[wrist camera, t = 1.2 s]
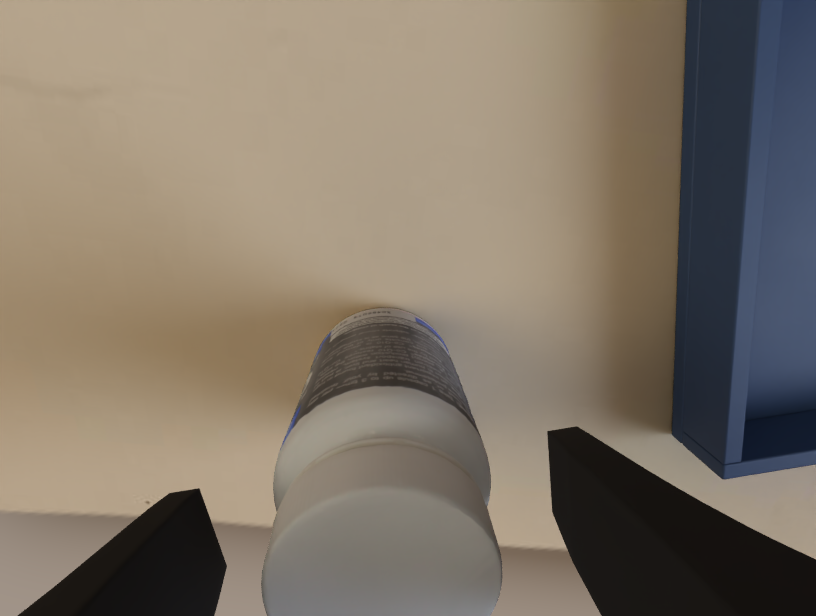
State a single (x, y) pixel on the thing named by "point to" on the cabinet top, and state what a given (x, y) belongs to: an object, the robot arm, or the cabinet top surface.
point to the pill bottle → (382, 483)
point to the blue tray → (747, 238)
